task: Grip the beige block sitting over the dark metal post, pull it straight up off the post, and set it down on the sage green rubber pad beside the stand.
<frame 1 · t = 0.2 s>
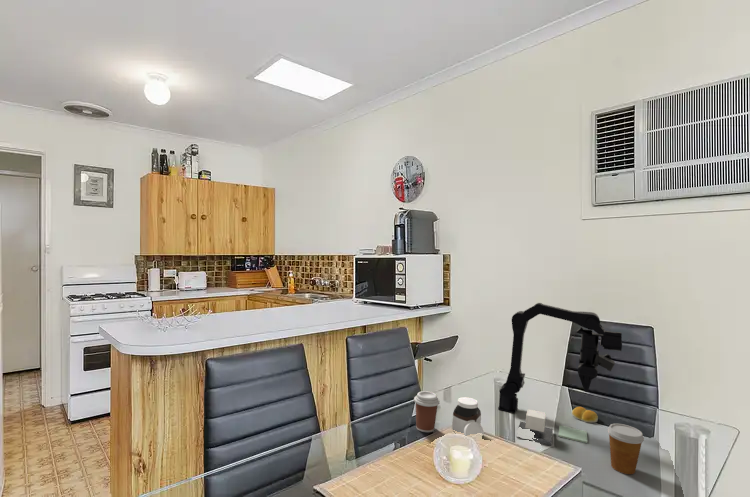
hand: (586, 388, 155), 14 cm above the table, tool pointing down, fingers open, 9 cm apart
disposable coffee cup: (623, 469, 127), on the table
pad: (572, 434, 148), on the table
bread roll: (584, 419, 163), on the table
post stand: (534, 435, 146), on the table
coffee cup: (425, 428, 147), on the table
beige block: (535, 426, 146), point 3 cm above the table, touching post stand
spread jar: (468, 437, 142), on the table
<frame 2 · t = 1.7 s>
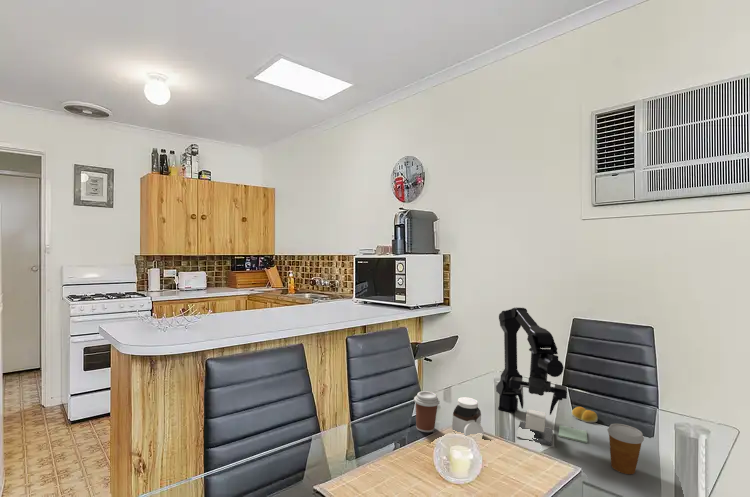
hand: (536, 411, 146), 8 cm above the table, tool pointing down, fingers open, 9 cm apart
nothing on the table moved.
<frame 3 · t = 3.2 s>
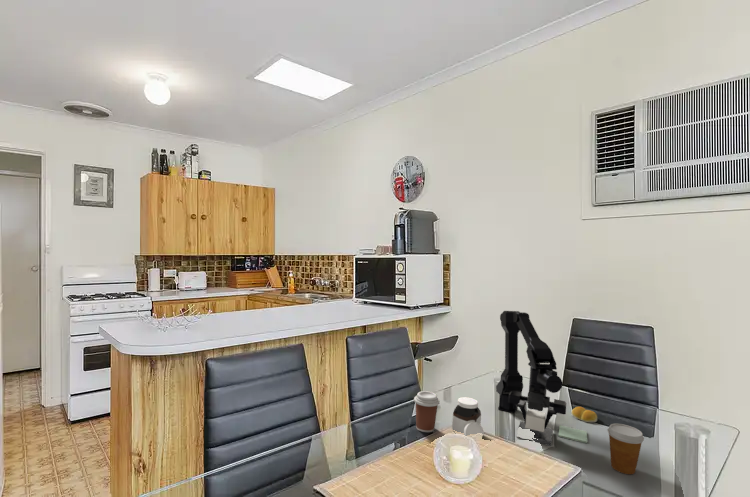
hand: (535, 426, 146), 3 cm above the table, tool pointing down, fingers closed on beige block, 6 cm apart
beige block: (535, 426, 146), point 3 cm above the table, touching gripper, post stand
everything else where it was.
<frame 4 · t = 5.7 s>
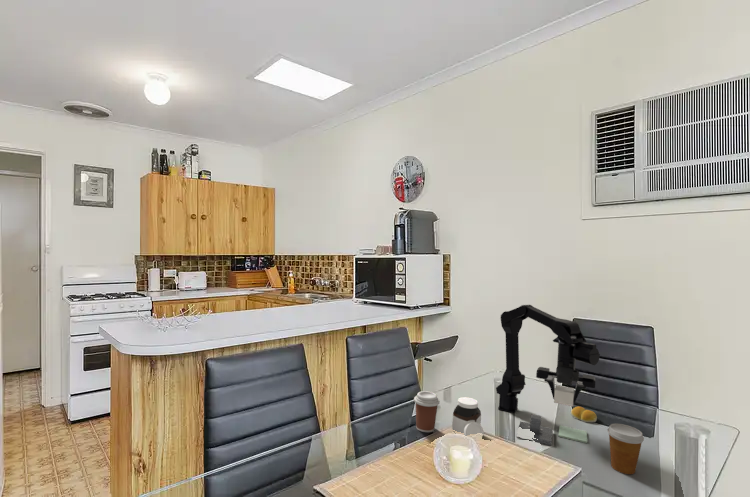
hand: (563, 401, 147), 12 cm above the table, tool pointing down, fingers closed on beige block, 6 cm apart
beige block: (563, 401, 147), point 12 cm above the table, touching gripper
everything else where it was.
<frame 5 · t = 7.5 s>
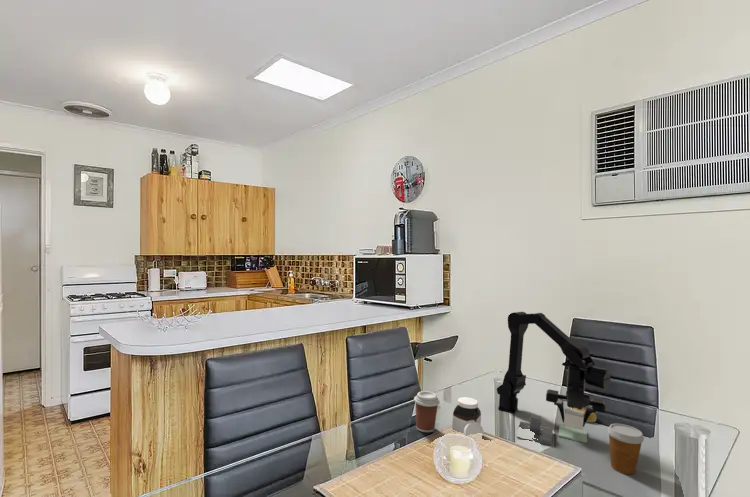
hand: (573, 424, 148), 4 cm above the table, tool pointing down, fingers closed on beige block, 6 cm apart
beige block: (573, 424, 148), point 4 cm above the table, touching gripper
everything else where it was.
when the fingers open (3 cm above the table, at t = 8.6 s): beige block drops 2 cm, resting on pad.
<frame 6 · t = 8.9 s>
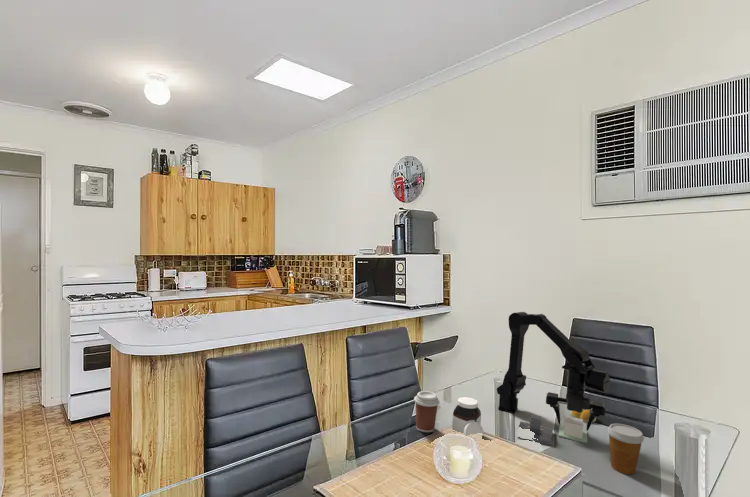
hand: (573, 427, 148), 3 cm above the table, tool pointing down, fingers open, 9 cm apart
beige block: (572, 433, 148), point 1 cm above the table, touching pad
everything else where it was.
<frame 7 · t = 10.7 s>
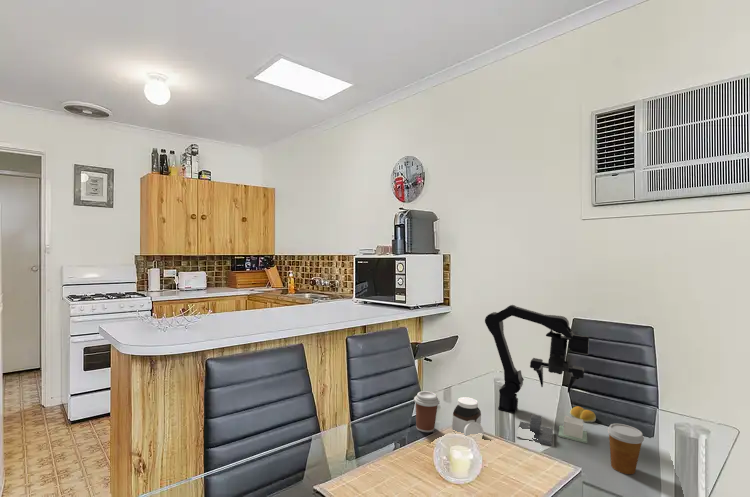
hand: (554, 389, 160), 12 cm above the table, tool pointing down, fingers open, 9 cm apart
nothing on the table moved.
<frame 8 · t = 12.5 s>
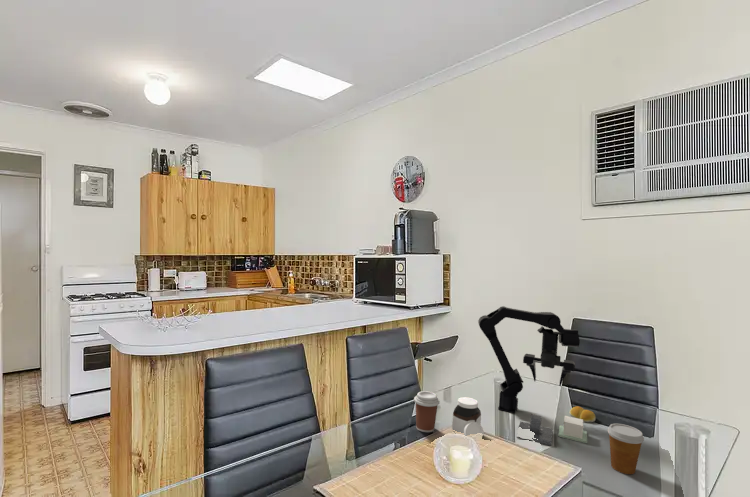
hand: (547, 383, 166), 12 cm above the table, tool pointing down, fingers open, 9 cm apart
nothing on the table moved.
at the end: beige block 0.1 cm off-centre on the pad, point 0.6 cm above the pad's base; beige block tilted 0°; the gripper is holding nothing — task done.
